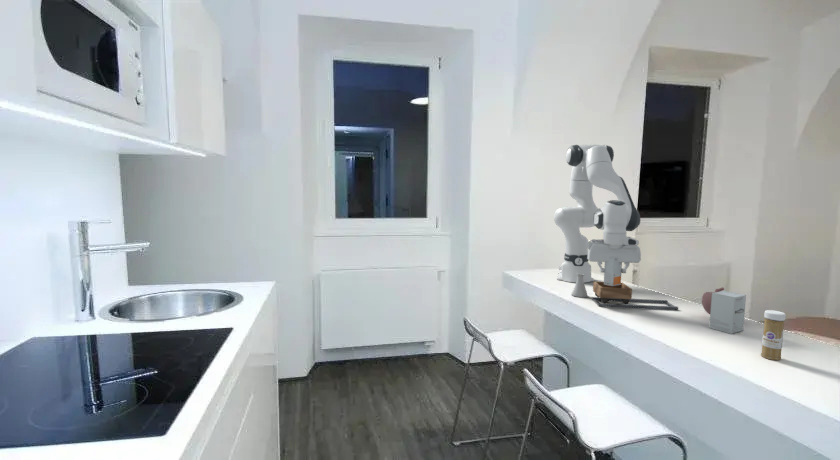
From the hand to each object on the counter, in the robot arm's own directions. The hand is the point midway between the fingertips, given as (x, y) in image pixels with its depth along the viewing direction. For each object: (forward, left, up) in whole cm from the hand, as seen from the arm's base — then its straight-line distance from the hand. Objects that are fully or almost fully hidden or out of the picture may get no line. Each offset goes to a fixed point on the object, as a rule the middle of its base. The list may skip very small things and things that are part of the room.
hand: (612, 272), depth 176 cm
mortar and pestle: (+14, +35, -14) cm, 40 cm away
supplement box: (+28, +30, -14) cm, 43 cm away
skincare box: (0, 0, -5) cm, 5 cm away
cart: (0, 0, -12) cm, 12 cm away
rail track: (0, +9, -13) cm, 16 cm away
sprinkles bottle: (+53, +29, -14) cm, 62 cm away
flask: (-12, -10, -14) cm, 21 cm away
